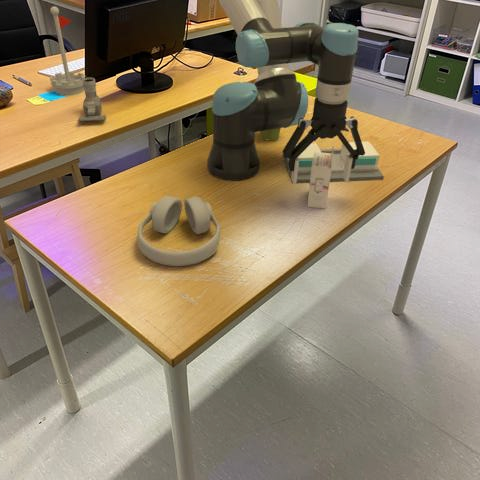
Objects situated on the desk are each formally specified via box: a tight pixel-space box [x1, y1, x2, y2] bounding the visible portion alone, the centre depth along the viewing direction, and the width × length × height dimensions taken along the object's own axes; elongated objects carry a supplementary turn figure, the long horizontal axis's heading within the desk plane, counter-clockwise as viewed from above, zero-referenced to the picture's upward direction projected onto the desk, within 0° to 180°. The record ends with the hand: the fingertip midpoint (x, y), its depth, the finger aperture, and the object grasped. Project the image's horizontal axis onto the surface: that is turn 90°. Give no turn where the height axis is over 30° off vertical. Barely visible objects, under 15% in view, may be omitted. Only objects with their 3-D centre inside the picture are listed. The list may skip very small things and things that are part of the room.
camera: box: [77, 77, 107, 122], centre depth 159 cm, size 9×12×15 cm
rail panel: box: [281, 141, 385, 184], centre depth 135 cm, size 26×16×6 cm, turn 97°
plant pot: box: [259, 128, 282, 142], centre depth 150 cm, size 9×9×9 cm
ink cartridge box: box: [306, 142, 335, 210], centre depth 118 cm, size 9×5×15 cm, turn 168°
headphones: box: [136, 195, 221, 267], centre depth 105 cm, size 18×8×20 cm
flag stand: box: [49, 6, 86, 97], centre depth 174 cm, size 13×13×30 cm
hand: (319, 180), depth 119 cm, fingers open, 13 cm apart
